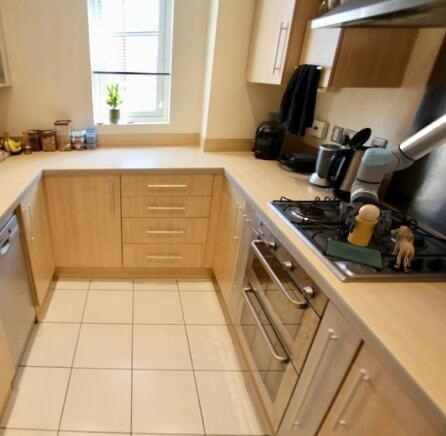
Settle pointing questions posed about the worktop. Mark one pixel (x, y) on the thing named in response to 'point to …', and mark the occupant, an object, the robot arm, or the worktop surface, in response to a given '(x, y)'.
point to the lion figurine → (403, 246)
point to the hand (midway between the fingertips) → (364, 231)
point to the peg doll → (364, 225)
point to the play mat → (354, 253)
